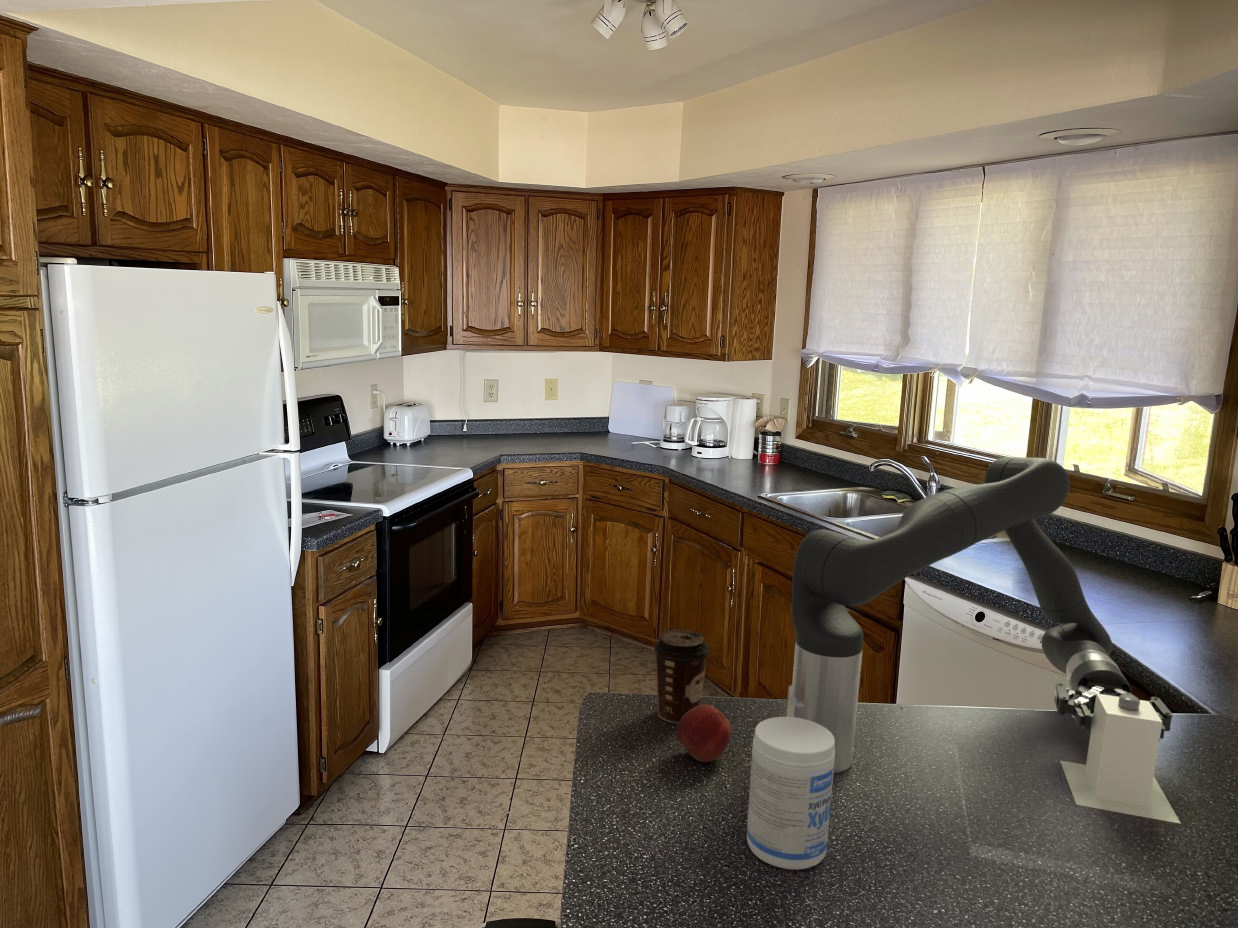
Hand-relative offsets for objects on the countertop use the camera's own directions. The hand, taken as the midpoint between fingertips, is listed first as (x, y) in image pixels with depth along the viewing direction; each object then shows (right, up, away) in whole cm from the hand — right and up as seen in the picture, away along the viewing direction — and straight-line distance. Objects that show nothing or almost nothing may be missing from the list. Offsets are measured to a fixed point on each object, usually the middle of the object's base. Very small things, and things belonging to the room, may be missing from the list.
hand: (1122, 729), depth 118 cm
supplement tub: (-49, -10, -14) cm, 52 cm away
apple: (-57, -6, +6) cm, 57 cm away
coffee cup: (-59, -4, +19) cm, 62 cm away
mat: (-1, -9, 0) cm, 9 cm away
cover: (-1, -8, 0) cm, 8 cm away
